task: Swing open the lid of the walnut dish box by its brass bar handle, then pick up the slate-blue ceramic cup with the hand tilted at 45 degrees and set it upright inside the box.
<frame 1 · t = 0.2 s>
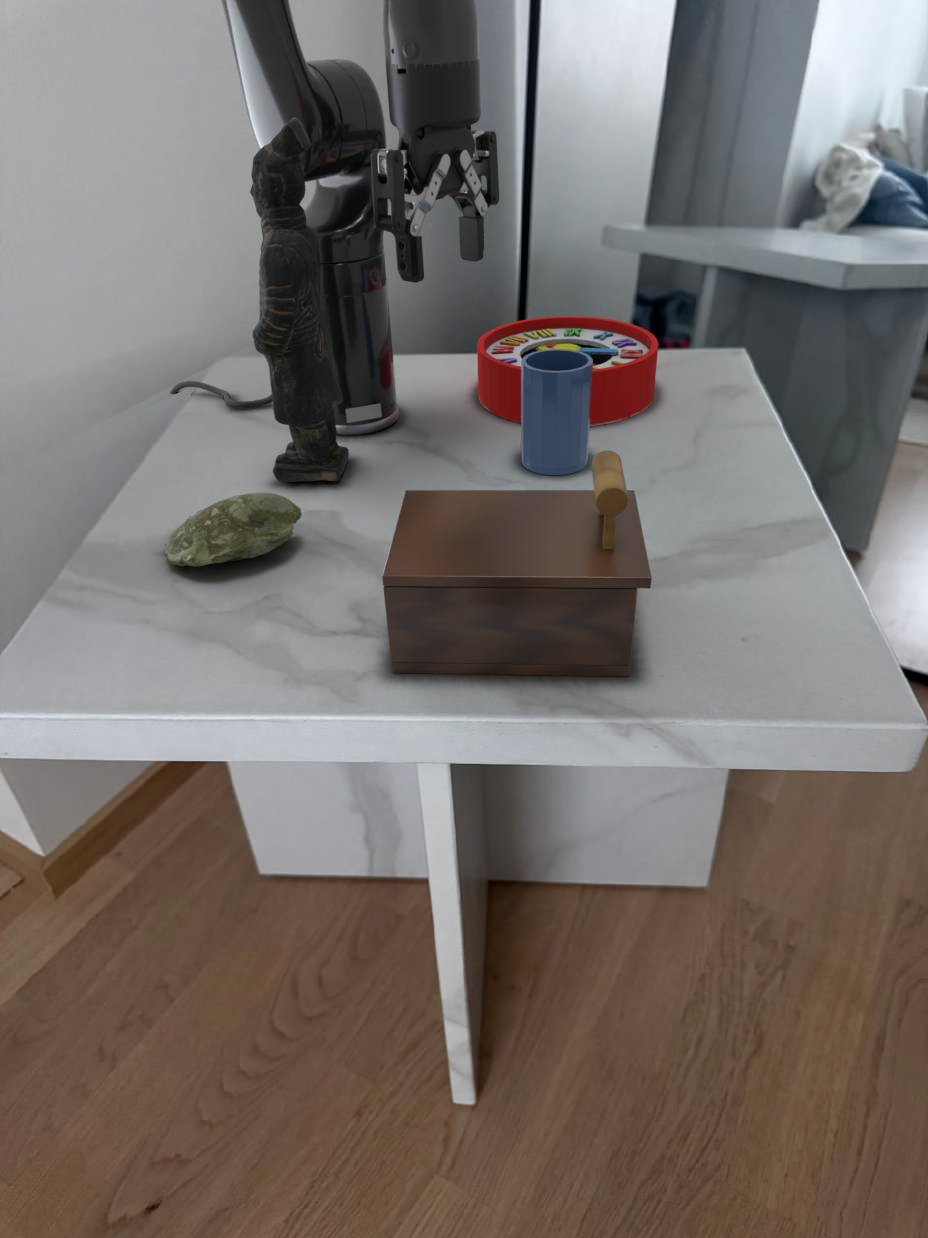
hand: (443, 270, 78), 17 cm above the table, tool pointing down, fingers open, 8 cm apart
statue: (315, 474, 84), on the table
green rounded rock: (236, 548, 73), on the table
dish box lid: (517, 504, 57), point 10 cm above the table, hinge at 0.0°
toy clock: (565, 394, 99), on the table
cup: (554, 461, 84), on the table
dish box: (511, 623, 62), on the table
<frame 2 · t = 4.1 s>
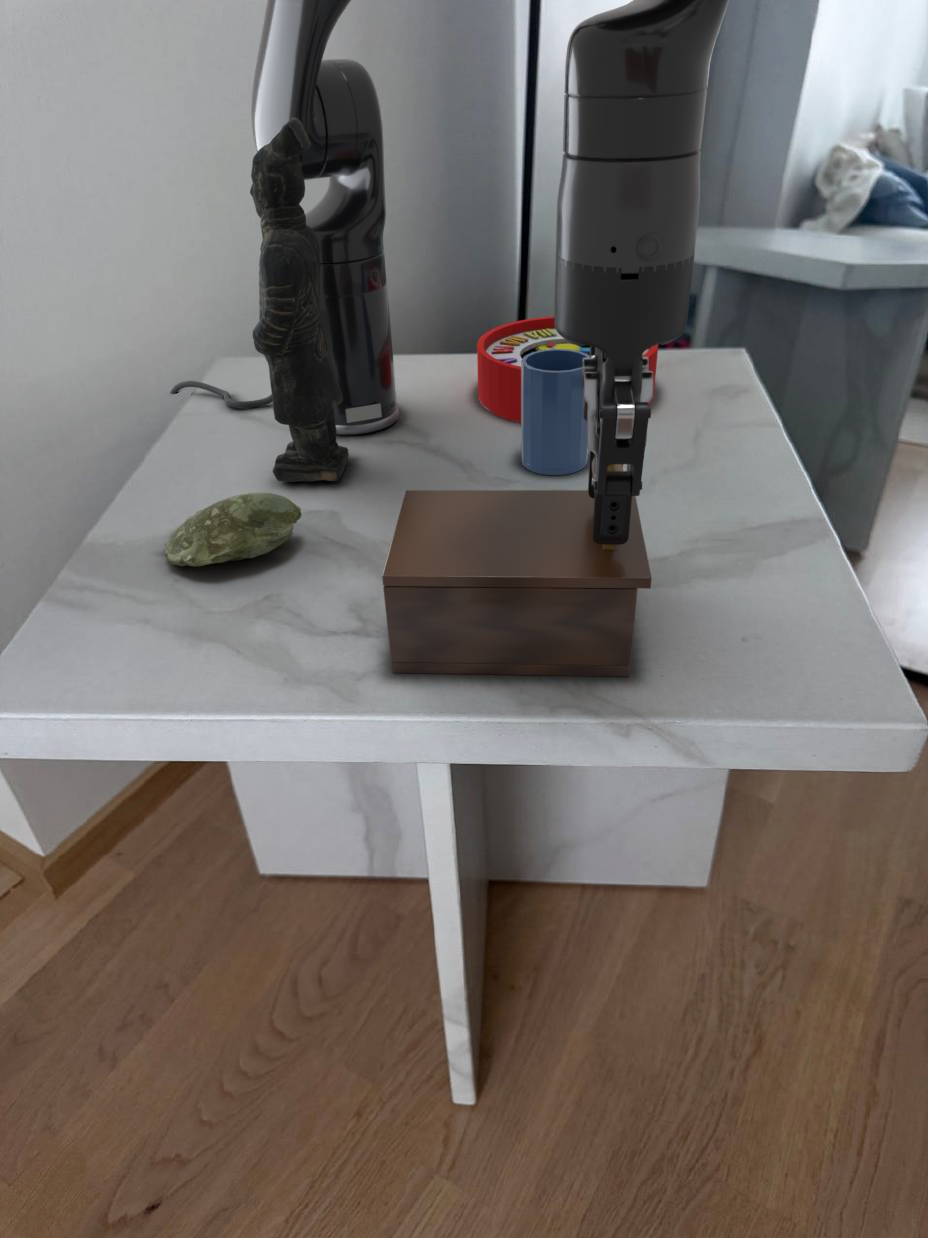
hand: (606, 517, 57), 9 cm above the table, tool pointing down, fingers closed on dish box lid, 5 cm apart
dish box lid: (517, 505, 57), point 10 cm above the table, hinge at 0.0°, touching gripper
everything else where it was.
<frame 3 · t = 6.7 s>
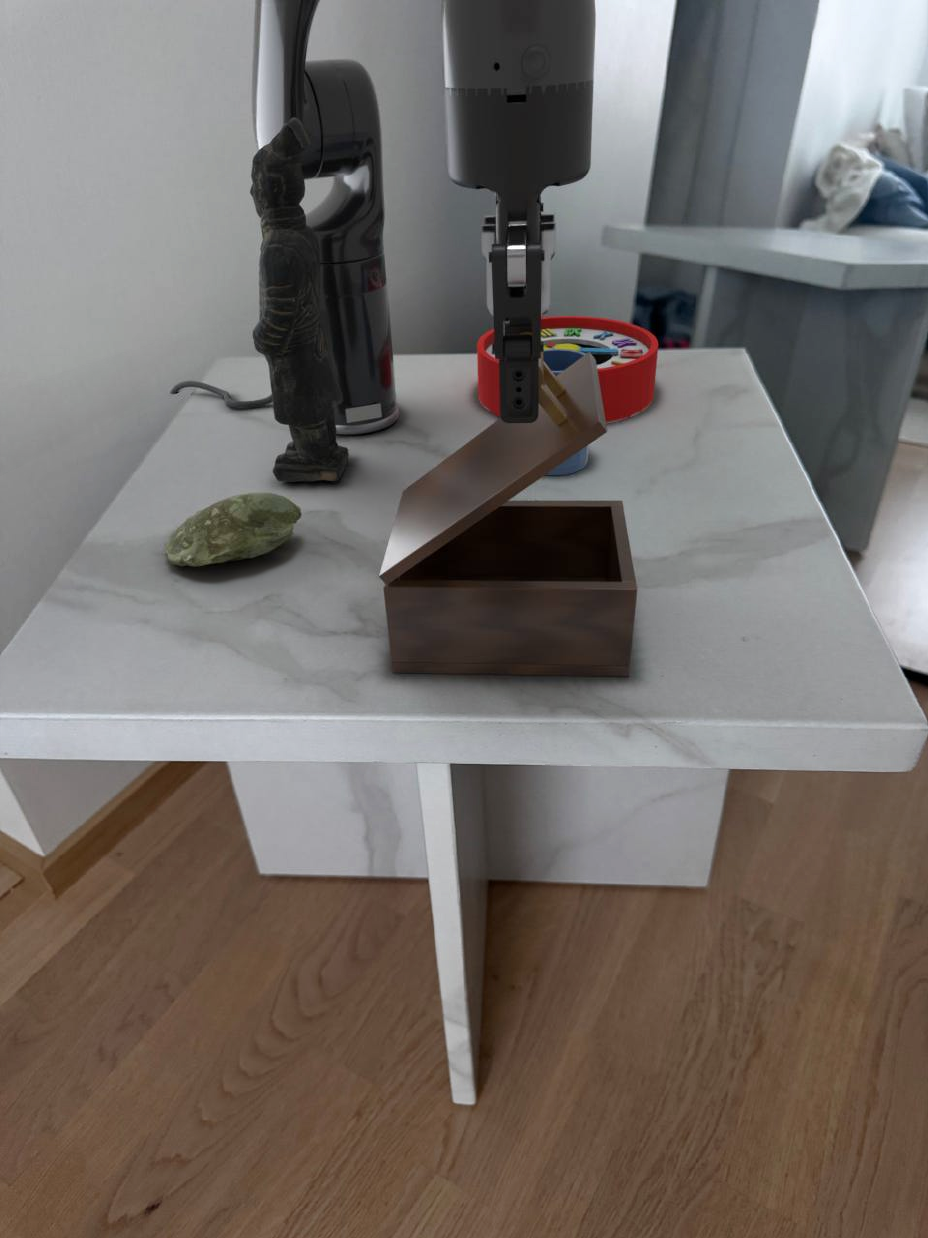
hand: (520, 399, 53), 17 cm above the table, tool pointing down, fingers closed on dish box lid, 5 cm apart
dish box lid: (467, 439, 54), point 14 cm above the table, hinge at 37.6°, touching gripper
everything else where it was.
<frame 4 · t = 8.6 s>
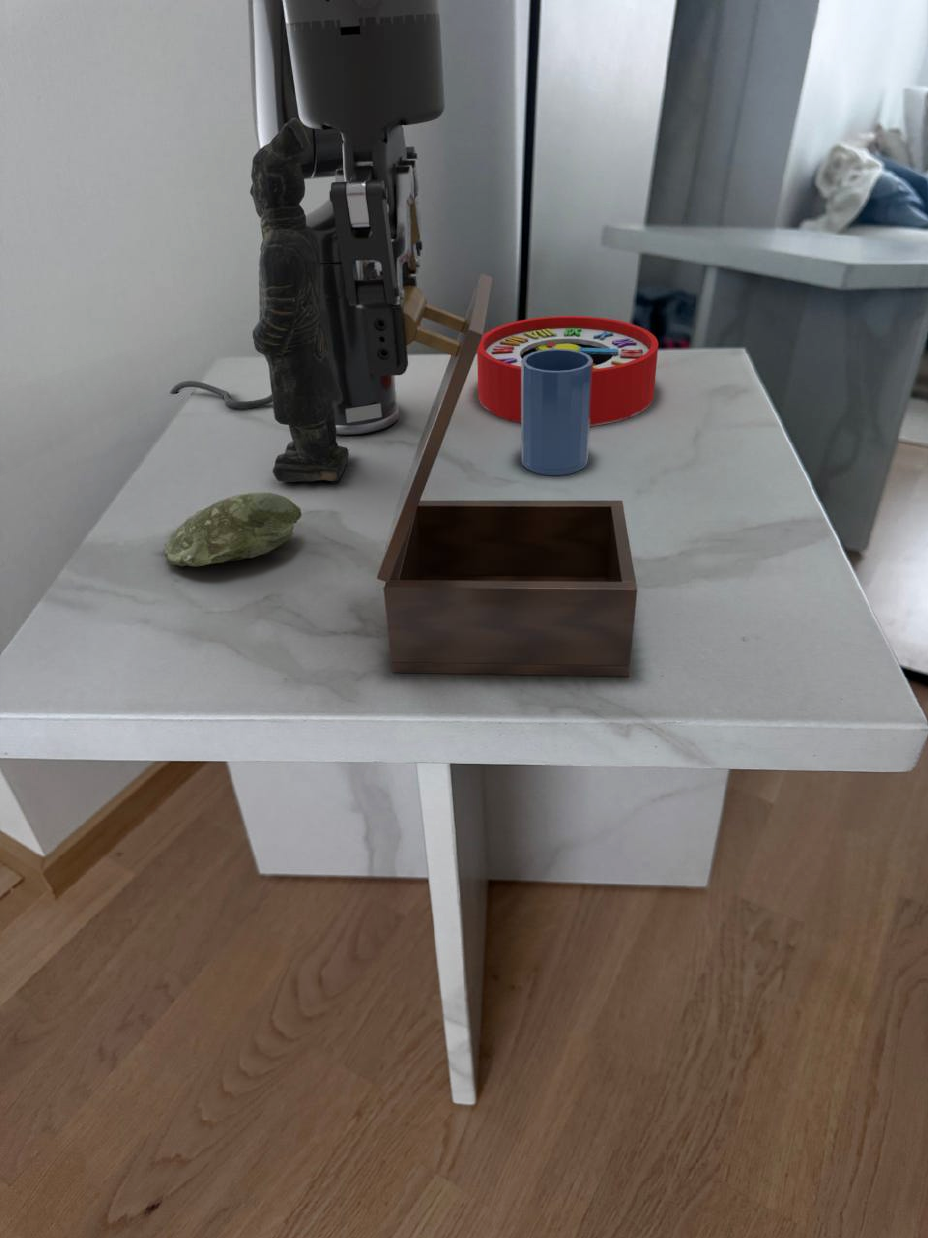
hand: (396, 354, 52), 20 cm above the table, tool pointing down, fingers closed on dish box lid, 5 cm apart
dish box lid: (400, 414, 54), point 16 cm above the table, hinge at 67.7°, touching gripper
everything else where it was.
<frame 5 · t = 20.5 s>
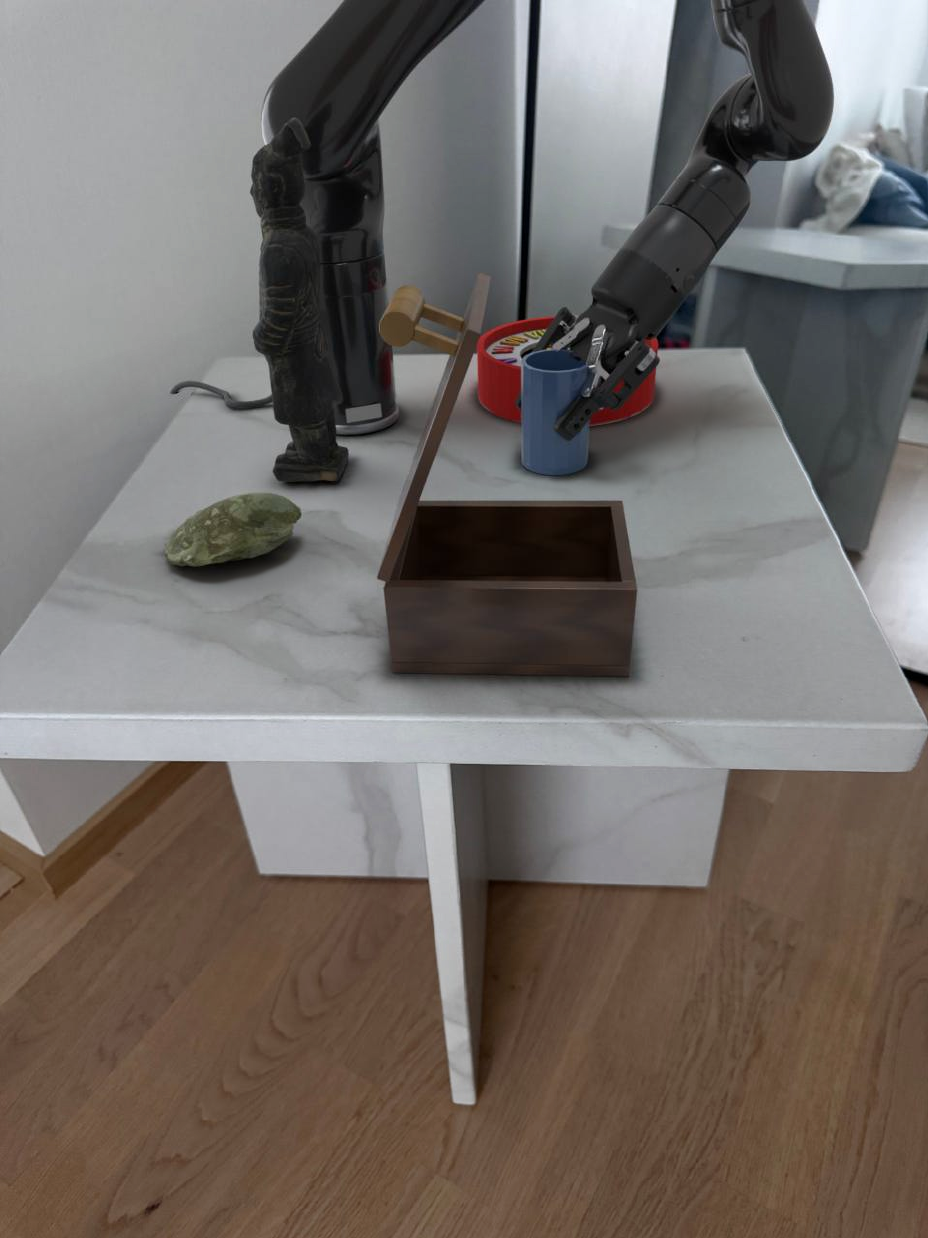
hand: (540, 422, 81), 4 cm above the table, tool tilted 45°, fingers closed on cup, 6 cm apart
dish box lid: (399, 414, 54), point 16 cm above the table, hinge at 68.1°
cup: (554, 461, 84), on the table, touching gripper
everything else where it was.
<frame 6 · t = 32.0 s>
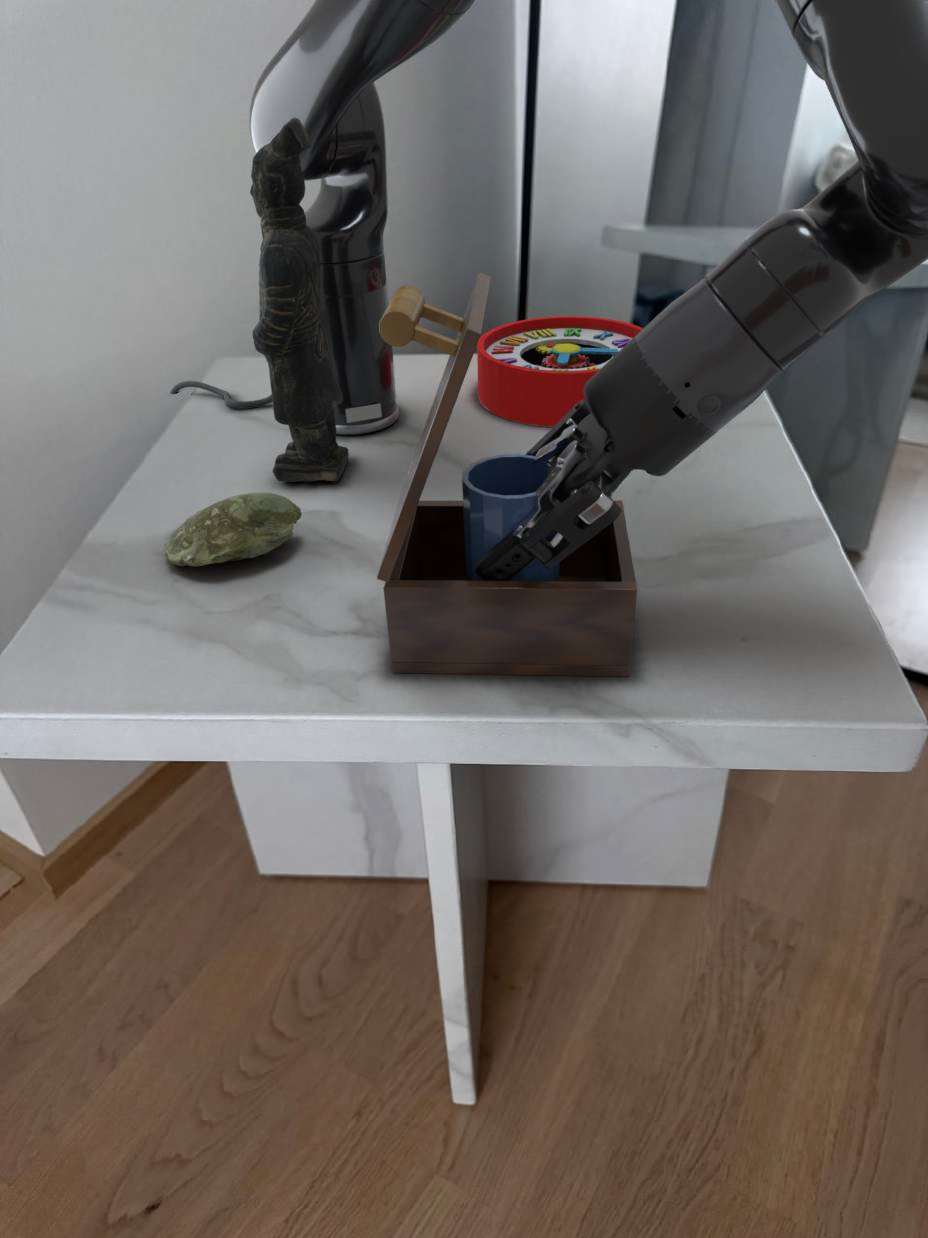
hand: (487, 550, 59), 6 cm above the table, tool tilted 45°, fingers closed on cup, 6 cm apart
cup: (512, 603, 61), point 2 cm above the table, touching gripper
everything else where it was.
when the fingers open (7 cm above the table, at t = 38.4 s): cup drops 2 cm, resting on dish box.
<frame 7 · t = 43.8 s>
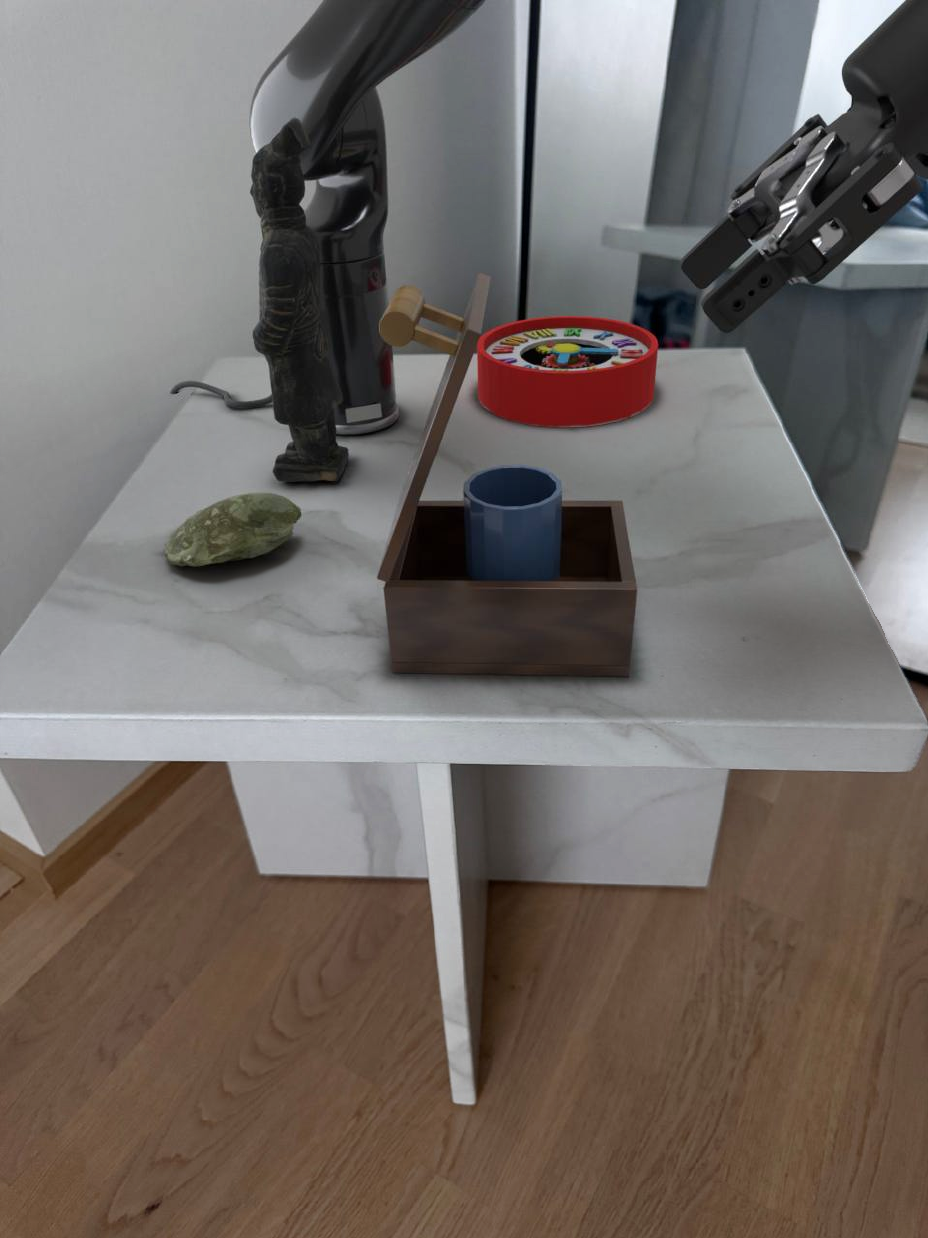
hand: (699, 297, 48), 23 cm above the table, tool tilted 45°, fingers open, 8 cm apart
cup: (513, 612, 62), point 1 cm above the table, touching dish box
everything else where it was.
at the end: dish box lid at +68° (first picture: +0°); cup inside the target area in the dish box (0.2 cm from its centre), point 0.9 cm above the dish box's base; cup tilted 0° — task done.
